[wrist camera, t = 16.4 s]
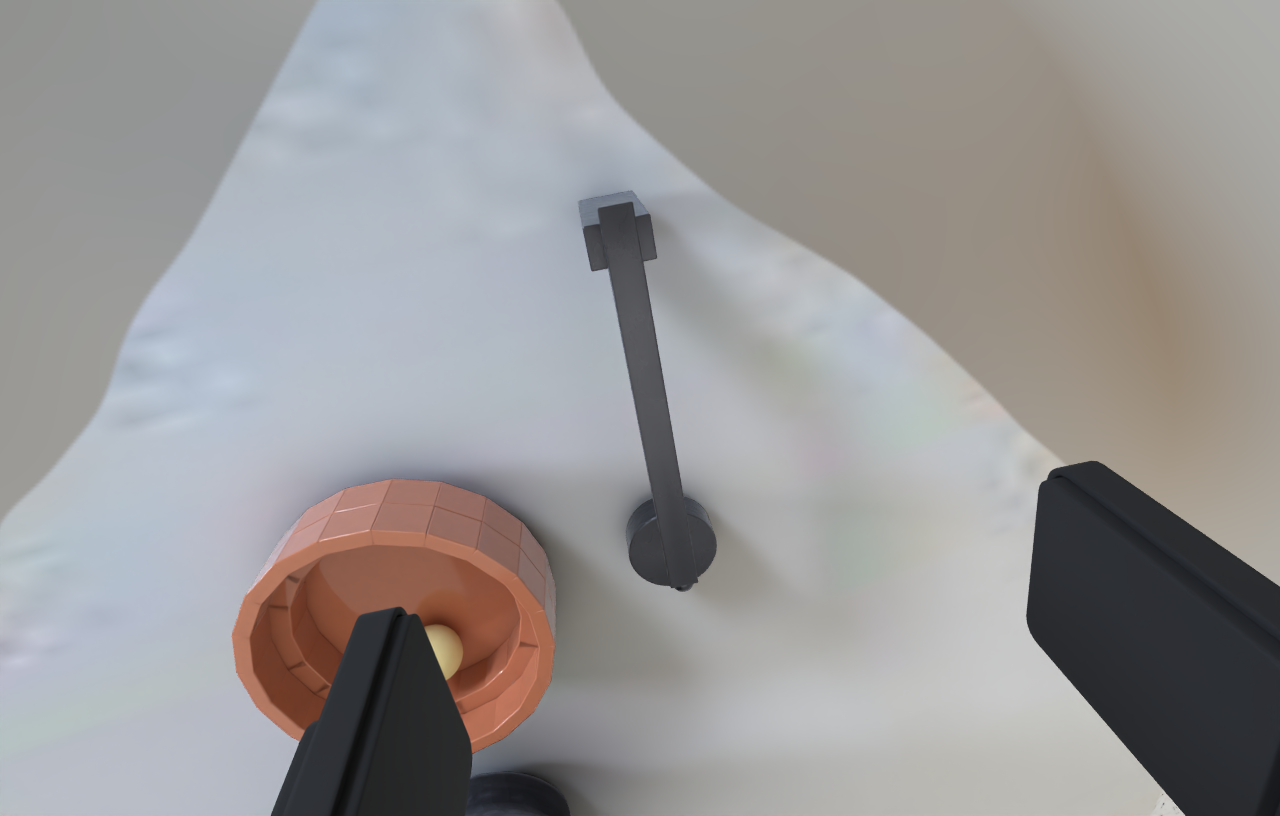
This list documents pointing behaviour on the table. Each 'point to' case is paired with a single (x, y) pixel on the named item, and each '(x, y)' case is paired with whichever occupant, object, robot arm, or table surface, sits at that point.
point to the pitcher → (513, 796)
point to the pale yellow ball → (445, 648)
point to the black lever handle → (647, 398)
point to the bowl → (402, 601)
